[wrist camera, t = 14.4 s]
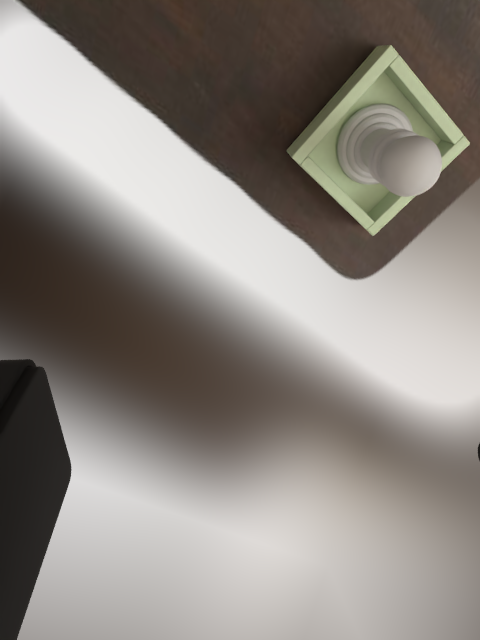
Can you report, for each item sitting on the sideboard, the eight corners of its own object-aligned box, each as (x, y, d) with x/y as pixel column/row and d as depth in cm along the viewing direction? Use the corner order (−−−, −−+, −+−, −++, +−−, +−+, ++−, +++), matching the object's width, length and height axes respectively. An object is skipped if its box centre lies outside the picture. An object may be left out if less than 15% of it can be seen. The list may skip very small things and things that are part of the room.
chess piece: (340, 191, 33) (379, 231, 25) (329, 115, 31) (369, 134, 23) (412, 171, 33) (474, 206, 25) (407, 93, 30) (474, 104, 22)
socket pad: (285, 150, 32) (291, 157, 30) (377, 45, 29) (390, 44, 27) (363, 225, 35) (373, 236, 33) (453, 137, 32) (471, 143, 30)
